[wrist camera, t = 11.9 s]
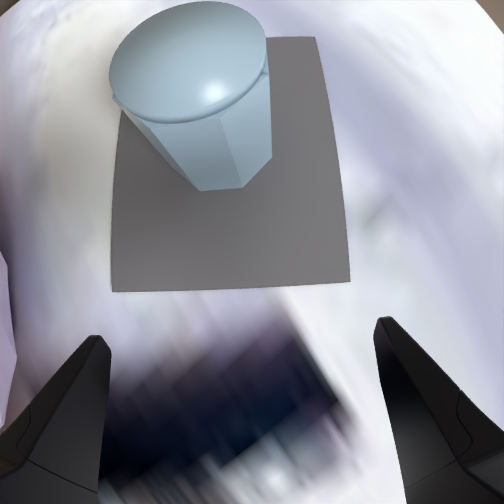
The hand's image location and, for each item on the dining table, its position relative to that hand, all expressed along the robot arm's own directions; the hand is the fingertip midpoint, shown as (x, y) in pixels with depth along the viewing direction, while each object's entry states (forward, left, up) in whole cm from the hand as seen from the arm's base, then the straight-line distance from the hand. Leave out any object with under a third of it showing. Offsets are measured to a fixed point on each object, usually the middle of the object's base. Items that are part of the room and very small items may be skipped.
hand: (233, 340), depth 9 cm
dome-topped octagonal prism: (+4, +11, -10) cm, 16 cm away
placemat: (+4, +11, -11) cm, 16 cm away
